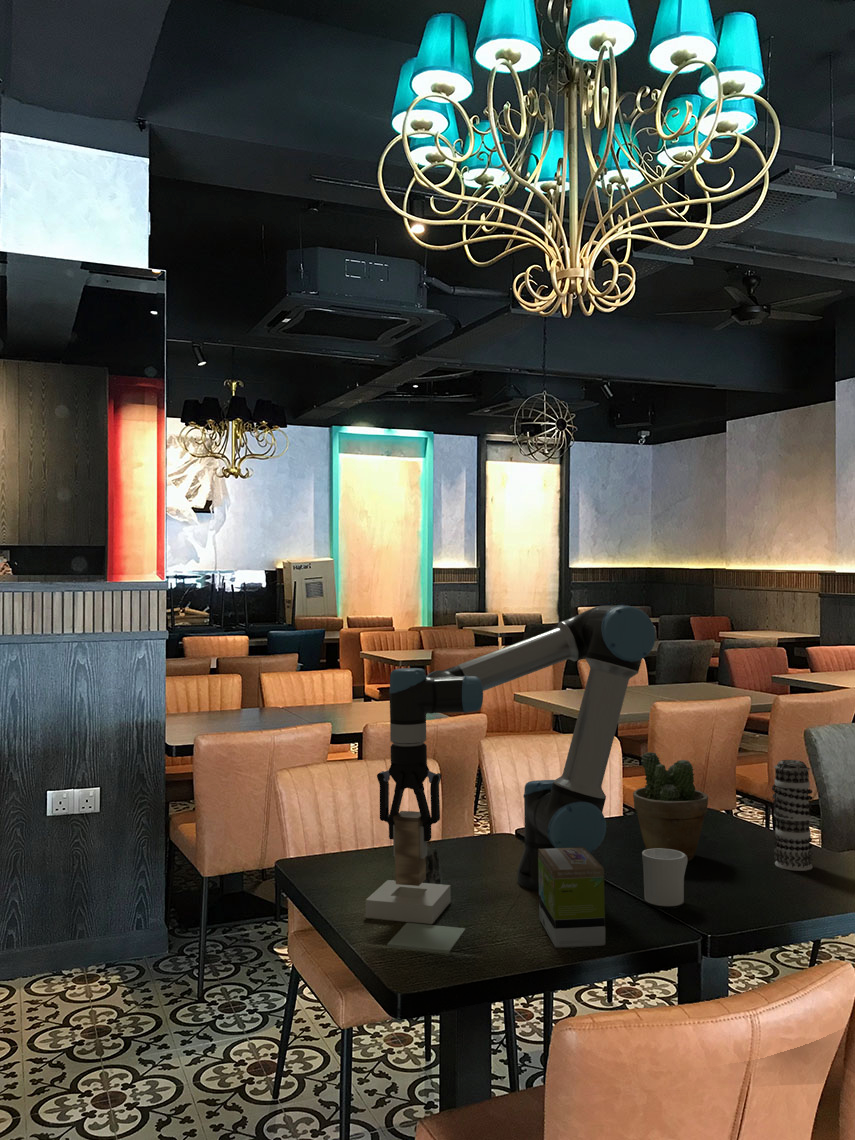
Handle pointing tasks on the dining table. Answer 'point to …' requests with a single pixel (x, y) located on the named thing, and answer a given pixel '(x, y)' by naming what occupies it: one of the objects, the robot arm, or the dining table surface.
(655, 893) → the mug
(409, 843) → the brown tall block
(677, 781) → the potted plant
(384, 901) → the white square platform
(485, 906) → the dining table surface
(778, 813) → the decorative candle
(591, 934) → the tea box
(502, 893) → the dining table surface
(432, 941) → the mat
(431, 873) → the stone
